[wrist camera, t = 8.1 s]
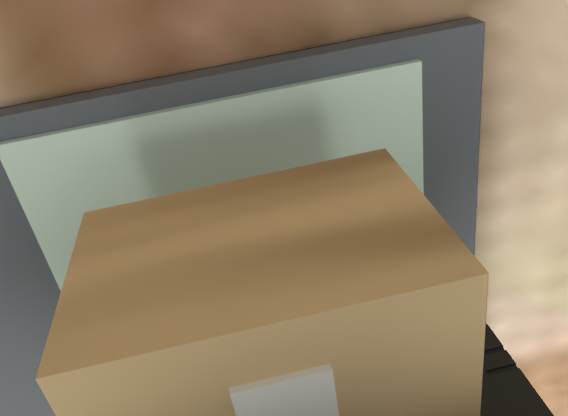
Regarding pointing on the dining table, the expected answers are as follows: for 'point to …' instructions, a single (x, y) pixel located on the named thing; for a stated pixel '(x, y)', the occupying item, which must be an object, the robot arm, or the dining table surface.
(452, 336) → the oak block
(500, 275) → the dining table surface
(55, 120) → the rubber mat
